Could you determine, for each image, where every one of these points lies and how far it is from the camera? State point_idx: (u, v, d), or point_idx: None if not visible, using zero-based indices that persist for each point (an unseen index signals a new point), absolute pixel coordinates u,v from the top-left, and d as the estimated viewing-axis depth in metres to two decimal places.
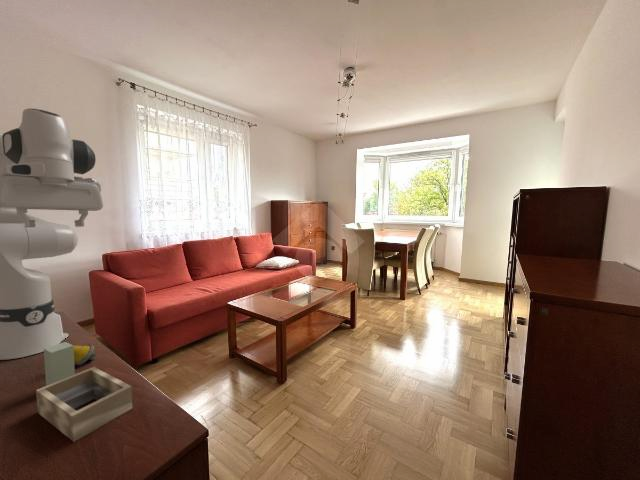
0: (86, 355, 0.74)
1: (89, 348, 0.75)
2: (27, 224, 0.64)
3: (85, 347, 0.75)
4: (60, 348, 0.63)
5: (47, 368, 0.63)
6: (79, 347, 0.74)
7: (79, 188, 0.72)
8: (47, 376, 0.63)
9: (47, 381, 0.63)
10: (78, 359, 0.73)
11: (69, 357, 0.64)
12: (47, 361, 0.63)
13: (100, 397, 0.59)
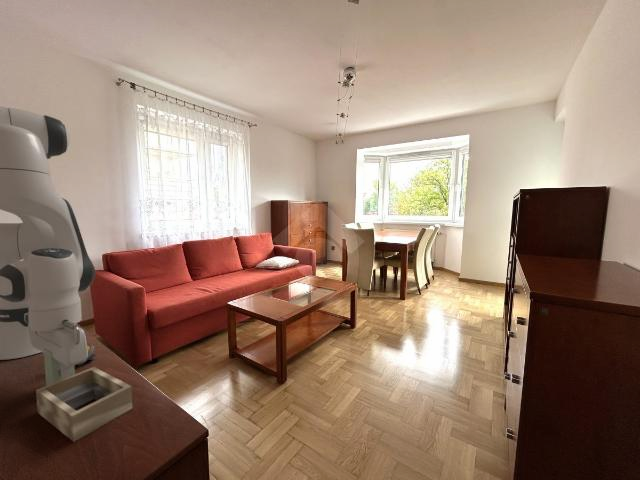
0: None
1: (89, 348, 0.75)
2: None
3: None
4: None
5: (47, 368, 0.63)
6: None
7: (56, 338, 0.60)
8: (47, 376, 0.63)
9: (47, 381, 0.63)
10: None
11: None
12: (47, 361, 0.63)
13: (100, 397, 0.59)
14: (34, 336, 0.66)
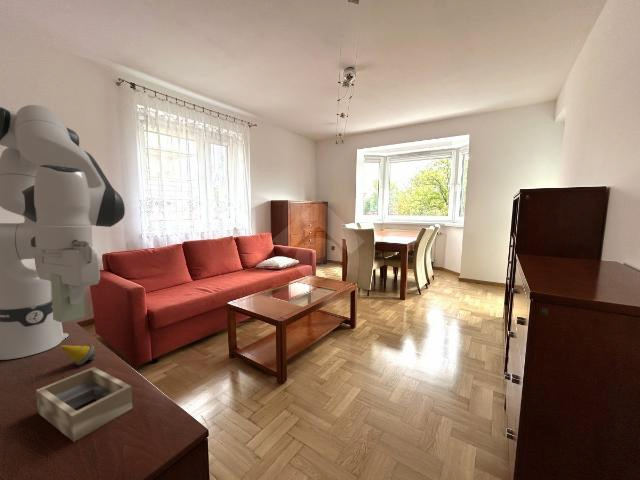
0: (85, 355, 0.74)
1: (89, 348, 0.75)
2: None
3: (85, 347, 0.75)
4: None
5: (54, 295, 0.57)
6: (79, 347, 0.74)
7: (66, 258, 0.55)
8: (54, 304, 0.58)
9: (54, 310, 0.58)
10: (78, 359, 0.73)
11: None
12: (54, 287, 0.57)
13: (100, 397, 0.59)
14: (40, 265, 0.60)
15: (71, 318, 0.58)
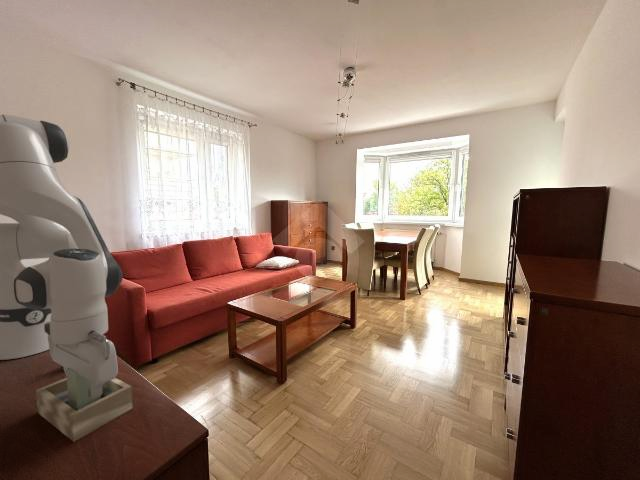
0: None
1: None
2: None
3: None
4: None
5: (70, 390, 0.55)
6: None
7: (82, 352, 0.52)
8: (70, 399, 0.55)
9: (70, 405, 0.55)
10: None
11: None
12: (70, 382, 0.55)
13: None
14: (55, 348, 0.58)
15: None
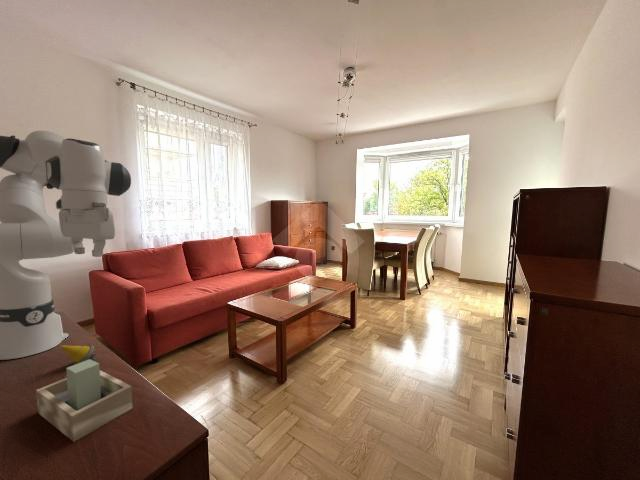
0: (85, 355, 0.74)
1: (89, 348, 0.75)
2: None
3: (85, 347, 0.75)
4: (85, 367, 0.56)
5: (70, 390, 0.55)
6: (79, 347, 0.74)
7: (87, 216, 0.66)
8: (70, 399, 0.55)
9: (70, 405, 0.55)
10: (78, 359, 0.73)
11: (95, 377, 0.56)
12: (70, 382, 0.55)
13: None
14: (64, 224, 0.72)
15: None
